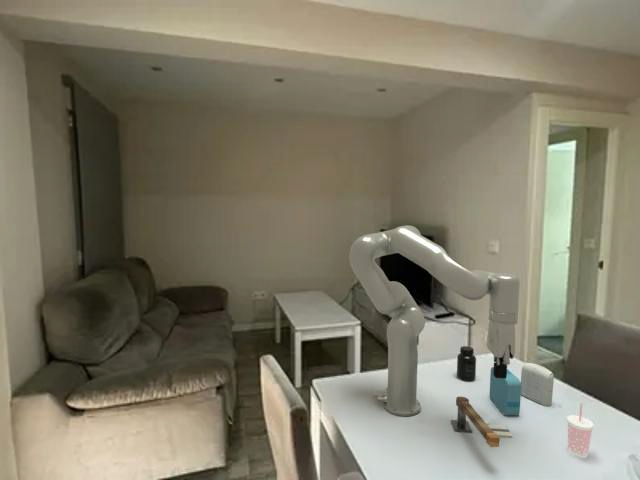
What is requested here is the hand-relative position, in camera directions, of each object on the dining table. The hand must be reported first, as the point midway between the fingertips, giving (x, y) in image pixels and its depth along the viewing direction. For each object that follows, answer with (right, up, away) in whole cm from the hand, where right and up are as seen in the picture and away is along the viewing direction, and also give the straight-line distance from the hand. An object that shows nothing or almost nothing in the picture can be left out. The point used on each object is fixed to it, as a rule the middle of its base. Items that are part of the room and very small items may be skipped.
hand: (499, 376), depth 113 cm
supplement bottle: (+4, -14, +37) cm, 40 cm away
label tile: (0, -17, +2) cm, 17 cm away
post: (-10, -17, +4) cm, 20 cm away
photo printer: (+22, -16, +21) cm, 34 cm away
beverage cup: (+18, -18, -7) cm, 27 cm away
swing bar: (-9, -11, -6) cm, 15 cm away
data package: (+9, -16, +16) cm, 24 cm away
